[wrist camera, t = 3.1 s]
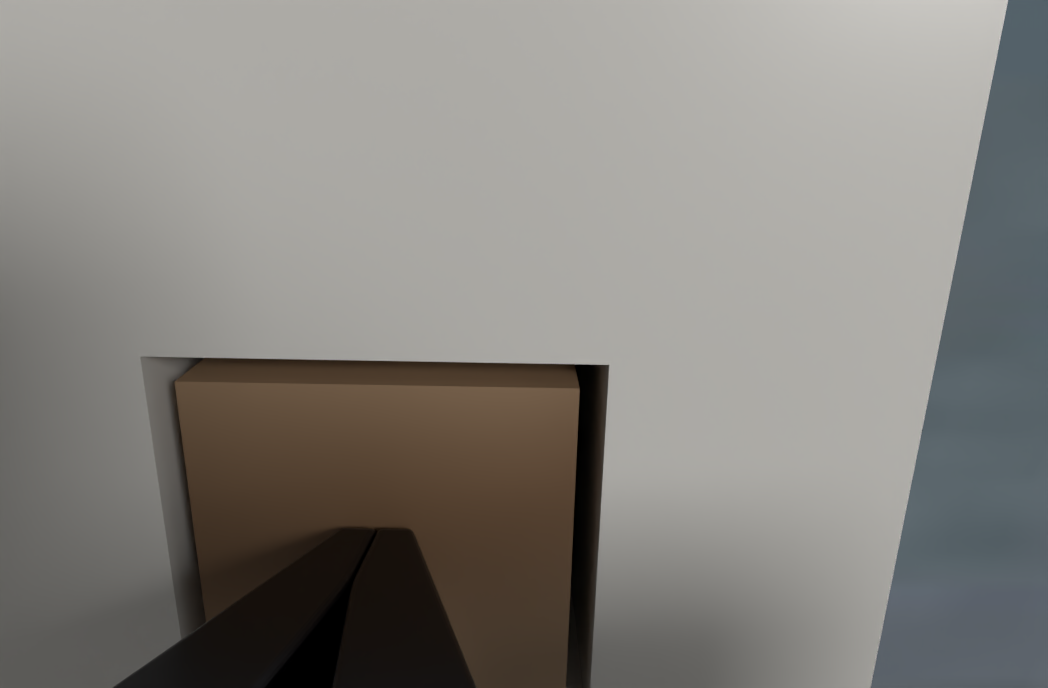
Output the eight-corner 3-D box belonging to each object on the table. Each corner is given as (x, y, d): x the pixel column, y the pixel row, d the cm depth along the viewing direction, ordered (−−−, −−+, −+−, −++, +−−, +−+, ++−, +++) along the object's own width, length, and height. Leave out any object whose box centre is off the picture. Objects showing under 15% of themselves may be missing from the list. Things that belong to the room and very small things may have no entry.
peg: (548, 498, 15) (564, 711, 9) (324, 495, 14) (217, 707, 9) (556, 279, 13) (579, 388, 8) (309, 275, 13) (174, 380, 8)
